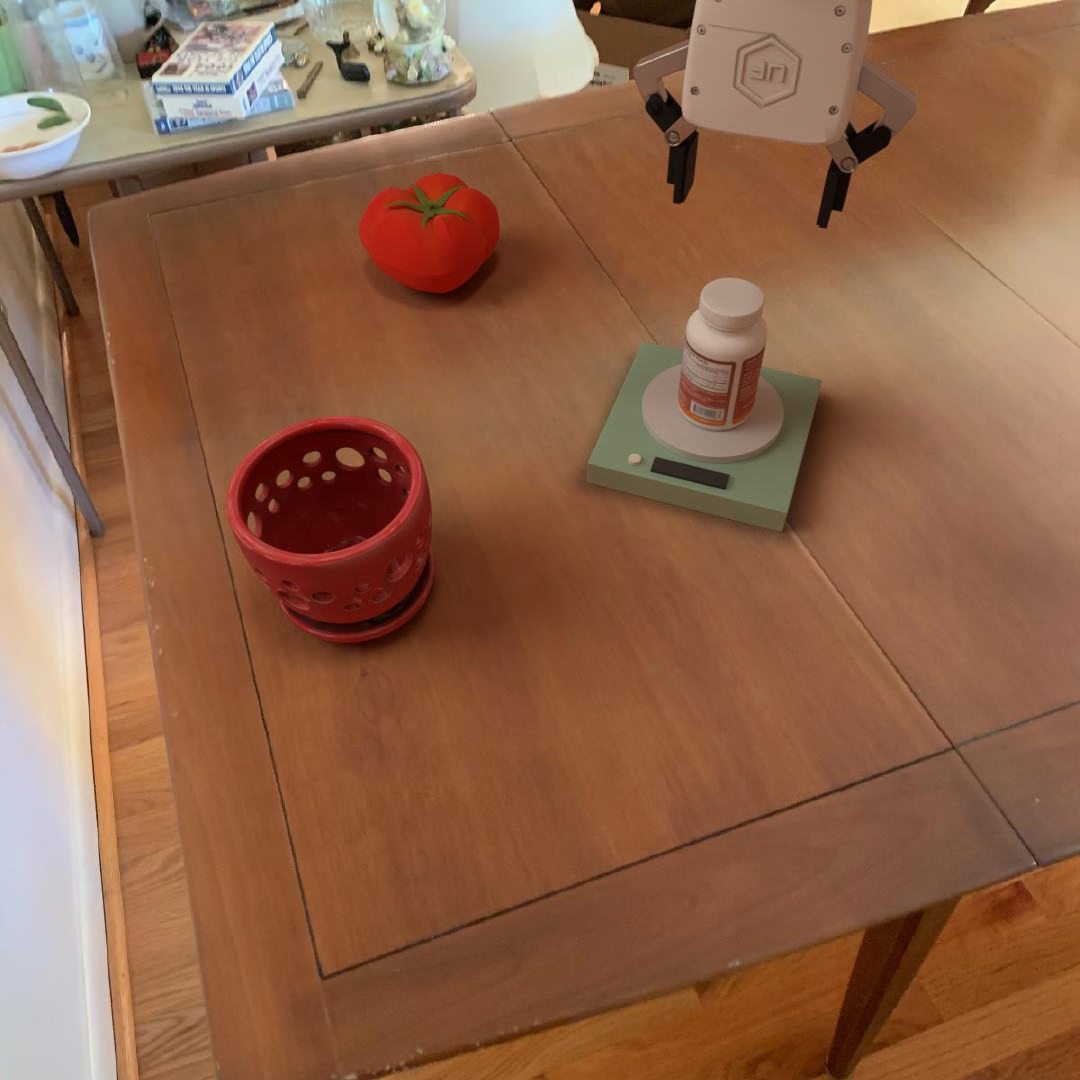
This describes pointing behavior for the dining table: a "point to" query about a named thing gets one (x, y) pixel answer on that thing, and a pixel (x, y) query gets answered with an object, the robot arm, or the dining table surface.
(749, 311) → the pill bottle
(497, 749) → the dining table surface
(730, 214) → the dining table surface
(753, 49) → the robot arm
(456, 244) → the tomato
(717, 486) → the scale
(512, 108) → the dining table surface
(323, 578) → the flower pot
